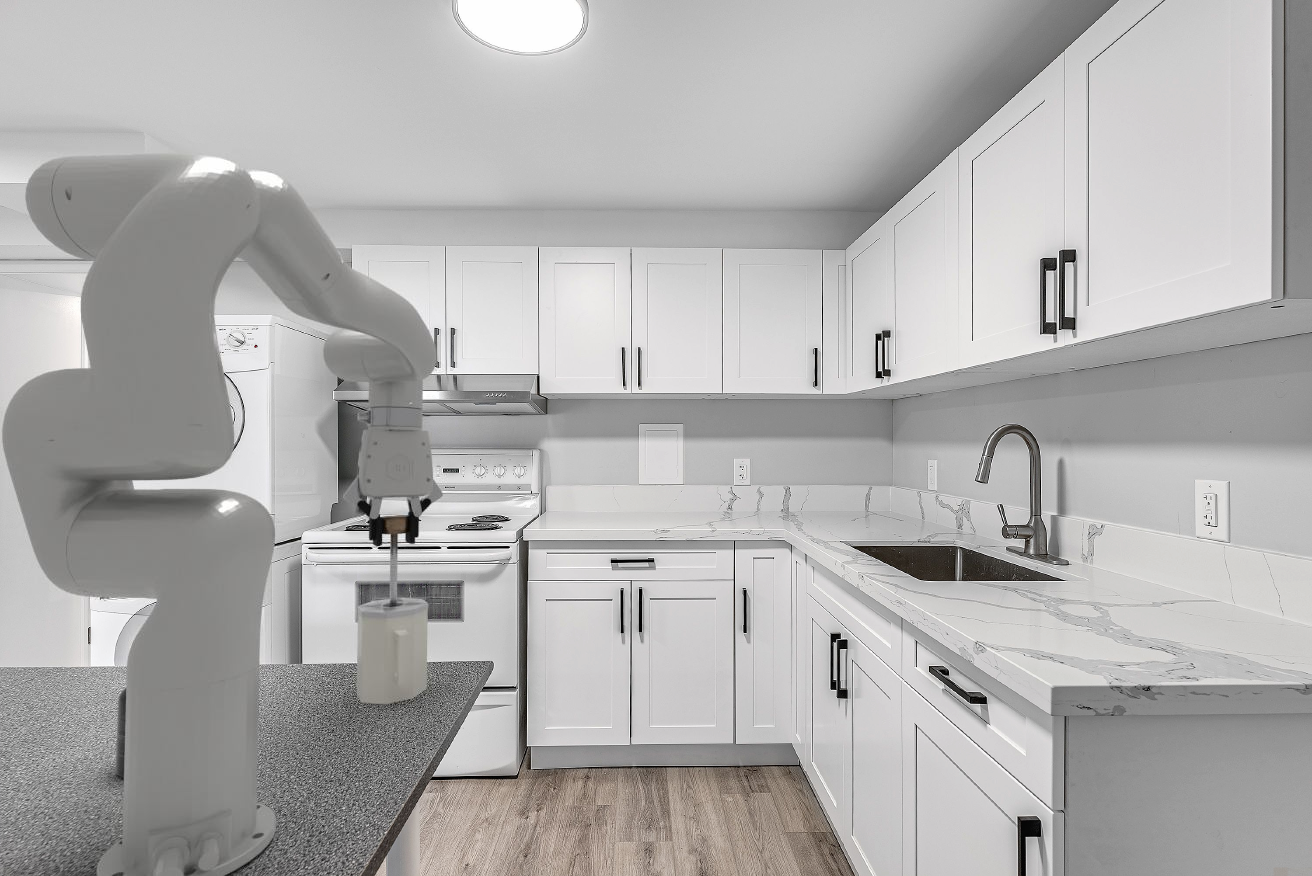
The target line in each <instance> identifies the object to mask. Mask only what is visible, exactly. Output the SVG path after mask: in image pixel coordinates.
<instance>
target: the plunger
mask: <svg viewBox="0 0 1312 876" xmlns="http://www.w3.org/2000/svg"><path fill="white" fill-rule="evenodd" d="M380 519H382V521H383V524H382V535H390V546H389V547H390V548H389V549H390V550H389V552H390V553H389V557H390V559H389V564H390V565H389V599H390V607H397V598H398V551H399V548H398V545H399V544H398V542H399V537H398V536H399V535H403V534H405V533H408V532H409V516H408V515H384V516H383V515H382V516H380Z"/></svg>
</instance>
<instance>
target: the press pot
mask: <svg viewBox="0 0 1312 876" xmlns="http://www.w3.org/2000/svg"><path fill="white" fill-rule="evenodd" d="M428 610H429V602H427V601H426V600H424V599H423V598H411V597H397V607H390V598H387V599H386V598H385V599H379V600H371V601H369V602H366V603H363V604H361V605H358V606H357V608H356V613H357V645H356V646H357V647H356V650H357V651H356V652H357V655H356V658H357V659H356V661H357V663H356V696H357V698H358V699H359V701H360V704H361V703H363V704H372V705H373V704H375V705H391V704H395V703H399V701H400V702H403V701H404V700H405V701H408V699H410V700H413V699H415V698H417V697H418V696H419V694H420V693H421V694H423V693H424V692H425V691H424V690H426V689H428V617H429V616H428V613H429V612H428ZM423 691H424V692H423ZM426 691H427V690H426ZM422 692H423V693H422ZM421 694H420V695H421ZM417 695H418V696H417ZM414 697H415V698H414ZM412 698H413V699H412ZM405 701H404V702H405ZM394 702H395V703H394Z"/></svg>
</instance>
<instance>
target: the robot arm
mask: <svg viewBox="0 0 1312 876" xmlns="http://www.w3.org/2000/svg"><path fill="white" fill-rule="evenodd" d="M24 195H25V205H26V209H27V211H28V214H29V217H30V219H31V221H32V223H33V224H34V225H35V227H36V229H37V230H38V231H39V233H40V234H41V235H43V237H44V238H45V239H46V240H47V241H49V243H51V244H53V246H55V247H56V248H58V249H60V250H62V251H63V252H64V253H67V254H69V255H71V256H73V257H76V258H79V259H82V260H86V261H92V264H91V266H90V268H89V270H88V273H87V274H86V277H85V279H84V282H83V286H82V291H81V294H80V295H81V296H80V316H81V318H80V319H81V323H82V329H83V333H84V339H85V344H86V350H87V355H88V359H89V360H88V361H89V368H88V367H87V368H85V367H84V368H83V367H82V368H77V367H76V368H64V369H57V370H52V371H48V372H45V373H41V374H40V375H37V376H35V377H34V378H31V379H29V380H28V381H26V382H25V383H24V384H22V386H21V387H20V388H19V389H18V390H17V391H16V392H15V394H13V396H12V397H11V400H10V401H9V403H8V405H7V407H6V410H5V413H4V417H3V422H2V431H1V432H2V433H1V437H2V438H1V440H2V441H1V443H2V447H3V448H2V449H3V452H4V453H3V454H4V457H5V461H6V466H7V468H8V472H9V474H10V478H11V482H12V485H13V488H14V491H15V495H16V498H17V501H18V504H19V507H20V511H21V515H22V517H23V521H24V525H25V528H26V531H27V535H28V538H29V541H30V544H31V546H32V550H33V552H34V556H35V558H36V560H37V562H38V565H39V567H40V568H41V570H42V571H43V574H44V575H45V577H46V578H48V580H49V581H50V582H51V583H52V584H53V585H54V586H55V587H57V588H59V589H60V590H61V591H64V592H66V593H69V594H71V595H75V596H81V597H89V598H109V599H110V598H111V599H112V598H115V599H117V598H121V599H123V598H127V599H128V598H129V599H133V598H134V599H135V598H136V599H137V598H139V599H143V598H144V599H152V600H156V602H155V605H154V607H153V609H152V611H151V612H150V614H149V616H148V617H147V619H145V622H144V623H143V624H142V626H141V627H140V629H139V631H138V632H137V633H136V635H135V637H134V639H133V641H132V643H131V646H130V649H129V651H128V656H127V660H126V673H125V684H126V687H127V688H126V687H125V688H126V724H125V760H124V778H123V798H122V799H123V801H122V804H123V805H122V807H123V808H122V810H123V811H122V836H121V838H120V839H119V840H117V841H116V842H115V843H114V844H113V845H112V846H111V847H110V848H109V849H107V850H106V852H104V853H103V855H102V857H101V858H100V859H99V861H98V862H97V863H98V864H97V866H96V876H227V875H228V874H230V873H232V872H234V871H236V870H238V869H240V868H242V866H244V865H246V864H248V863H249V862H251V861H252V860H254V858H255V857H257V856H258V855H259V854H261V853H262V852H263V850H265V849H266V847H267V846H268V845H269V844H270V843H271V841H272V839H273V838H274V837H275V833H276V831H277V816H276V814H275V811H274V810H272V808H270V807H269V806H268V805H265V804H262V803H260V802H258V764H259V763H258V761H259V760H258V756H259V755H258V754H259V706H260V705H259V704H260V703H259V701H260V663H261V662H260V655H261V653H260V649H261V627H262V626H261V625H262V612H263V603H264V598H265V597H264V596H265V591H266V585H267V582H268V581H267V580H268V576H269V572H270V567H271V564H272V560H273V555H274V550H275V542H276V529H275V527H276V526H275V524H274V520H273V517H272V515H271V514H270V512H269V510H268V509H267V508H266V507H265V506H264V505H263V503H261V502H260V501H258V500H257V499H255V498H254V497H252V496H249V495H247V494H244V493H240V492H236V491H231V490H228V489H227V490H226V489H218V488H217V489H216V488H161V489H155V488H153V489H152V488H150V489H145V488H144V489H141V488H139V489H135V486H134V481H173V480H174V481H175V480H176V481H177V480H188V479H197V478H200V477H205V476H208V475H211V474H213V473H215V472H217V471H219V470H220V469H222V468H223V467H224V466H226V464H227V463H228V461H229V460H230V459H231V457H232V454H233V452H234V447H235V426H234V421H233V420H234V419H233V414H232V407H231V403H230V397H229V393H228V387H227V383H226V377H225V372H224V371H225V370H224V367H223V361H222V357H221V352H220V346H219V342H218V335H217V328H216V322H215V309H216V299H217V295H218V291H219V288H220V286H221V283H222V281H223V279H224V278H225V277H224V276H225V275H226V273H227V272H228V270H229V268H230V267H231V266H232V264H233V263H234V261H235V259H236V258H238V259H240V260H243V261H244V262H245V263H246V264H247V265H248V266H249V267H250V268H251V269H252V270H253V272H255V273H256V274H257V276H258V277H259V278H260V279H261V280H262V281H263V282H264V283H265V285H266V286H267V287H268V288H269V289H270V290H271V291H272V293H273V294H274V295H275V296H276V297H277V298H278V299H279V300H280V301H281V303H282V305H284V306H285V307H286V308H287V309H288V310H289V311H290V312H292V313H293V314H295V315H297V316H299V317H302V318H304V319H307V320H310V321H313V322H316V323H320V324H323V325H326V326H331V327H334V328H340V329H338V330H336V331H333V332H332V333H331V334H330V335H328V337H327V339H325V342H324V344H323V351H322V353H323V354H322V355H323V359H324V363H325V365H326V367H327V369H328V370H329V371H330V372H331V373H332V374H333V375H334V376H335V377H337V378H339V379H341V380H343V381H346V382H353V383H368V408H367V410H365V411H363V412H357V421H358V422H362V423H365V424H366V427H368V429H364V430H363V432H362V436H361V440H360V445H359V452H358V459H357V460H358V461H357V472H356V477H355V479H354V480H353V481H352V483H351V484H350V485H349V487H348V488H347V489H346V491H345V492H344V494H343V495H342V498H343V500H344V501H346V502H348V503H349V504H352V505H353V506H354V507H357V509H359V510H360V511H361V512H362V513H363V514H364V515H365V516H367V517H368V540H369V541H372V544H373V546H375V547H381V546H383V534H382V524H383V521H382V519H380V517H381V514H380V510H381V506H382V501H383V498H385V499H386V498H406V503H407V506H408V507H407V508H408V512H407V516H409V532H408V533H404V534H405V535H404V536H405V538H404V539H405V540H404V541H405V542H406V543H407V544H410V545H414V544H415V545H416V538H419V535H420V531H419V530H420V527H419V526H420V517H421V516H422V514H423V513H424V512H425V511H426V510H427V509H428V508H429V507H430V506H431V505H433V503H435V502H436V501H438V500H440V499H441V498H442V497H443V496H444V493H443V491H442V490H441V488H440V486H439V485H438V484H437V482H436V481H435V480H434V470H433V456H432V455H433V454H432V447H431V439H430V434H429V431H428V430H423V404H424V403H423V397H424V395H423V394H424V393H423V390H424V389H423V386H424V380H425V379H427V378H428V377H429V376H430V375H431V374H432V373H433V371H434V370H435V367H436V364H437V349H436V345H435V341H434V339H433V335H432V334H431V332H430V330H429V329H428V327H427V325H426V323H425V322H424V320H423V318H422V317H421V314H420V313H419V311H418V310H417V309H416V307H415V306H414V305H413V304H412V303H410V301H408V300H407V299H406V298H405V297H403V296H402V295H400V294H399V293H397V292H395V290H393V289H391V288H389V287H387V286H386V285H384V284H382V283H380V282H379V281H377V280H375V279H373V278H372V277H369V276H367V275H366V274H363V273H362V272H359V270H356V269H354V268H352V267H350V266H349V264H348V263H347V261H346V260H345V258H344V257H343V256H342V254H341V252H340V251H339V250H338V249H337V247H336V245H335V244H334V243H333V241H332V240H331V238H330V236H328V234H327V232H326V231H325V230H324V229H323V227H322V225H321V224H320V222H319V221H318V220H317V218H316V216H315V215H314V214H313V212H312V211H311V210H310V209H311V208H309V206H308V205H307V203H306V202H305V201H304V200H303V198H302V196H301V195H300V194H299V192H298V190H296V188H295V187H294V186H293V185H292V184H291V183H289V181H287V180H286V179H285V178H284V177H282V176H279V175H277V174H275V173H272V172H269V171H266V170H260V169H253V168H252V169H248V168H247V169H246V168H243V167H241V166H240V165H239V164H237V163H236V162H234V161H232V160H228V159H226V158H223V157H219V156H214V155H208V154H200V153H189V152H185V153H183V152H182V153H180V152H178V153H177V152H175V153H173V152H172V153H171V152H169V153H164V152H163V153H159V152H158V153H138V154H136V153H135V154H134V153H133V154H117V155H116V154H115V155H114V154H113V155H112V154H111V155H108V154H107V155H106V154H105V155H76V156H75V155H74V156H73V155H72V156H63V157H58V158H53V159H51V160H48V161H46V162H45V163H42V164H40V166H39V167H37V169H35V170H34V171H33V173H32V174H31V175H30V177H29V179H28V180H27V185H26V187H25V194H24ZM358 494H359V495H361V496H364V497H367V498H369V499H368V502H367V500H366V501H365V500H363V499H362V498H360V497H359V496H358ZM424 496H425V497H424ZM420 497H422V498H421V499H420Z"/></svg>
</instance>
